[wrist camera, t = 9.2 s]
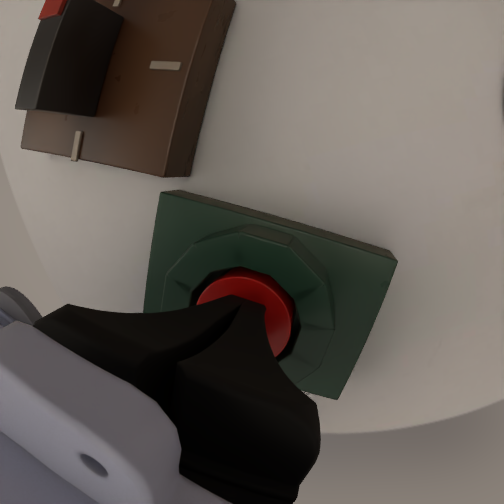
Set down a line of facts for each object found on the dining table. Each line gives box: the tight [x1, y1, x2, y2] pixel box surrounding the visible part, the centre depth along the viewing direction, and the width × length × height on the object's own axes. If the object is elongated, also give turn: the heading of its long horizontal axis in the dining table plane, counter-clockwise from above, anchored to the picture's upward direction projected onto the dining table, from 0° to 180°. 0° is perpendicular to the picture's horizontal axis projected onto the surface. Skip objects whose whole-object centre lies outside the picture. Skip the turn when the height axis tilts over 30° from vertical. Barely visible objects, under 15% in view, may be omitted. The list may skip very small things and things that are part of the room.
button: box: [197, 266, 296, 357], centre depth 12 cm, size 4×4×2 cm
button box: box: [143, 190, 398, 400], centre depth 13 cm, size 10×7×4 cm
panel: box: [21, 0, 236, 178], centre depth 13 cm, size 10×9×3 cm
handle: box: [15, 0, 124, 117], centre depth 10 cm, size 5×2×4 cm, turn 166°
